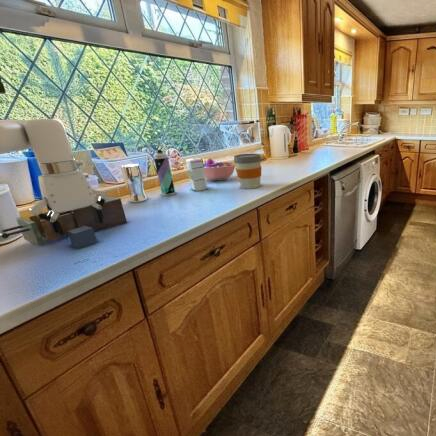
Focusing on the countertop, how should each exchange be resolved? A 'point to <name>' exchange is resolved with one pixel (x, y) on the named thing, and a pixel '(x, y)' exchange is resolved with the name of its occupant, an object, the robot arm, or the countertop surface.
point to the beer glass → (134, 182)
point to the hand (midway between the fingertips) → (80, 228)
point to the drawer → (41, 228)
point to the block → (82, 236)
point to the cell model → (218, 170)
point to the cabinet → (110, 212)
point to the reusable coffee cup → (248, 170)
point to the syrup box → (196, 174)
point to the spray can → (164, 173)
